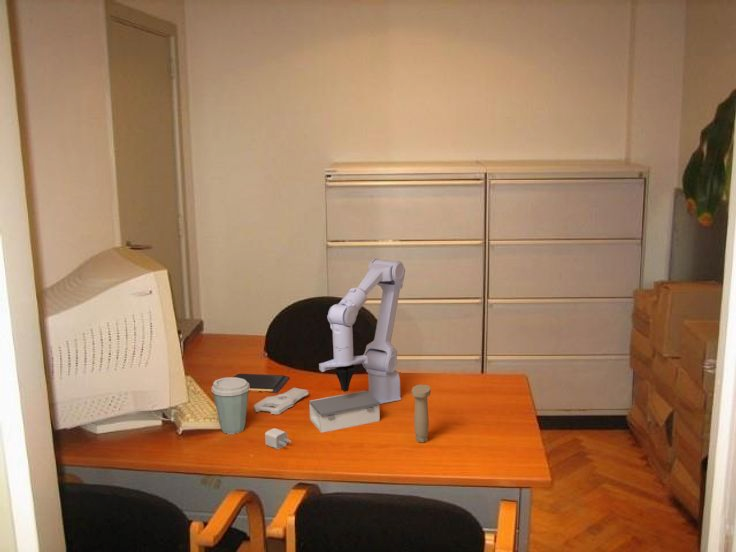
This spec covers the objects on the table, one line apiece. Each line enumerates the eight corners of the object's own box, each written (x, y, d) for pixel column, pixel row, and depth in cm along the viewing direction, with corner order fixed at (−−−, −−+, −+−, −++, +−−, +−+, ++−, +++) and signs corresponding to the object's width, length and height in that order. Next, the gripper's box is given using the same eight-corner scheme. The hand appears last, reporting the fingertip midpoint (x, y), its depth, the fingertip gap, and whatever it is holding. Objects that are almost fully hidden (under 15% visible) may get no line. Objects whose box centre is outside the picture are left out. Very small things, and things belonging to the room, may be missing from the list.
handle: (410, 444, 193) (409, 392, 190) (415, 434, 199) (415, 384, 196) (427, 446, 192) (427, 394, 188) (432, 436, 197) (432, 385, 194)
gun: (285, 382, 232) (310, 387, 227) (286, 391, 233) (311, 397, 228) (249, 404, 217) (275, 410, 212) (250, 414, 218) (276, 421, 213)
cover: (365, 392, 216) (365, 389, 216) (380, 405, 207) (380, 402, 207) (309, 403, 210) (309, 400, 209) (321, 416, 200) (321, 413, 200)
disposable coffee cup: (238, 419, 213) (235, 371, 209) (260, 429, 205) (257, 380, 202) (207, 430, 205) (203, 381, 202) (228, 441, 198) (225, 390, 195)
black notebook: (291, 373, 246) (276, 390, 231) (291, 378, 246) (277, 395, 232) (236, 371, 250) (218, 387, 235) (236, 376, 250) (219, 392, 236)
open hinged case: (366, 408, 218) (365, 393, 217) (380, 421, 208) (380, 405, 207) (310, 419, 211) (309, 403, 210) (322, 433, 201) (321, 417, 200)
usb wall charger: (276, 440, 198) (275, 427, 197) (294, 447, 194) (293, 433, 193) (265, 446, 195) (264, 432, 194) (283, 452, 191) (282, 439, 190)
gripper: (360, 337, 211) (361, 381, 214) (314, 345, 205) (316, 390, 208) (370, 344, 205) (371, 388, 208) (323, 352, 199) (325, 398, 202)
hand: (344, 390), depth 208 cm, fingers closed
